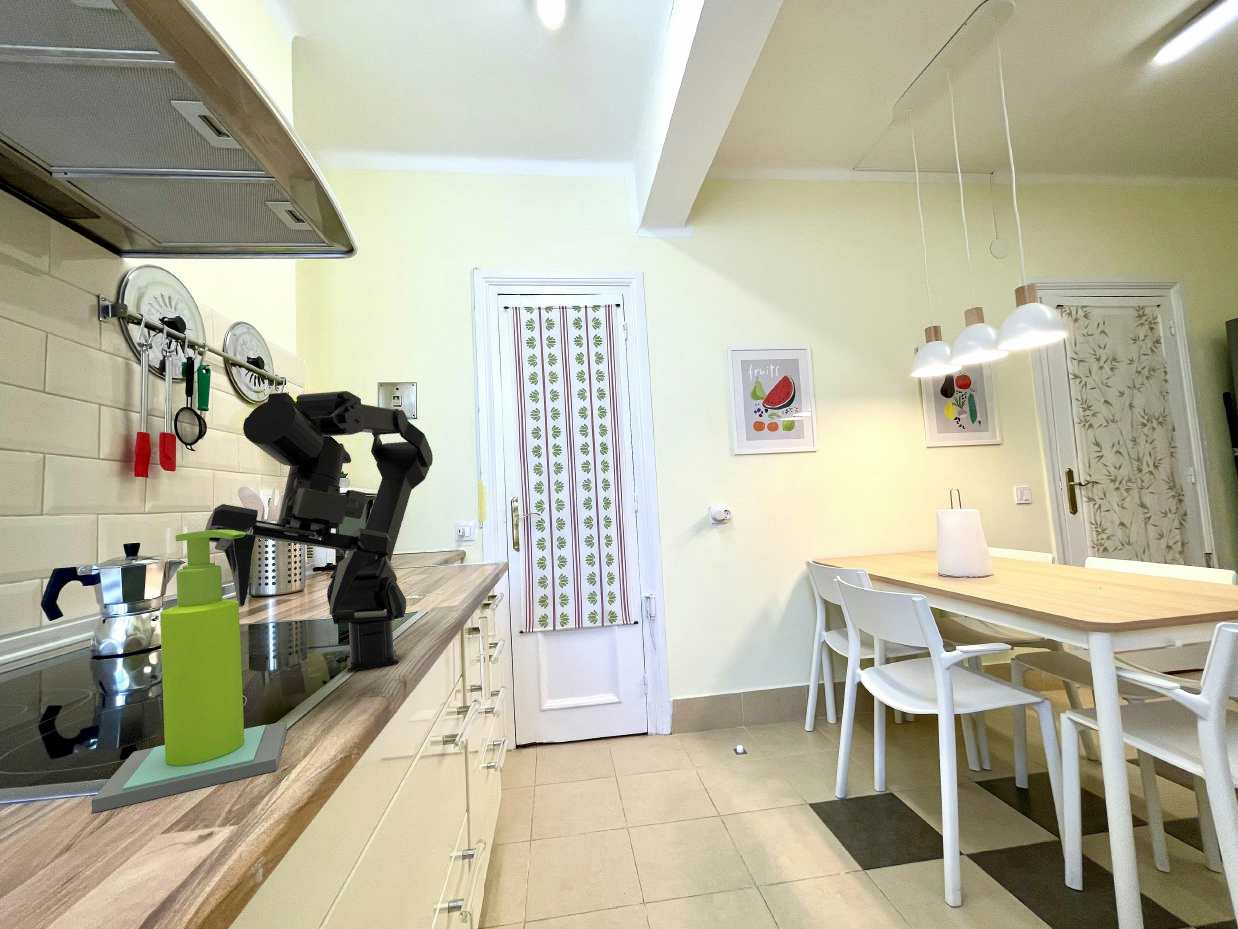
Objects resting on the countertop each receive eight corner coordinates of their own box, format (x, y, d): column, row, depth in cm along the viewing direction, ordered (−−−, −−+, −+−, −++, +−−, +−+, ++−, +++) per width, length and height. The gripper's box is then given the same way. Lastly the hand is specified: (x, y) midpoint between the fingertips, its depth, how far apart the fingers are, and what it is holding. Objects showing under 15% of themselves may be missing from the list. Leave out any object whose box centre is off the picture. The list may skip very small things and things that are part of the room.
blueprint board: (133, 762, 55) (133, 749, 55) (286, 730, 60) (286, 719, 60) (91, 813, 46) (91, 797, 46) (276, 770, 51) (275, 756, 51)
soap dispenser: (226, 763, 50) (217, 530, 51) (147, 768, 50) (139, 536, 51) (269, 734, 56) (260, 526, 57) (198, 739, 56) (190, 531, 57)
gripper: (239, 435, 61) (200, 584, 54) (414, 477, 72) (399, 605, 65) (220, 473, 68) (183, 607, 61) (380, 505, 79) (364, 622, 73)
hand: (288, 610), depth 65 cm, fingers open, 9 cm apart
